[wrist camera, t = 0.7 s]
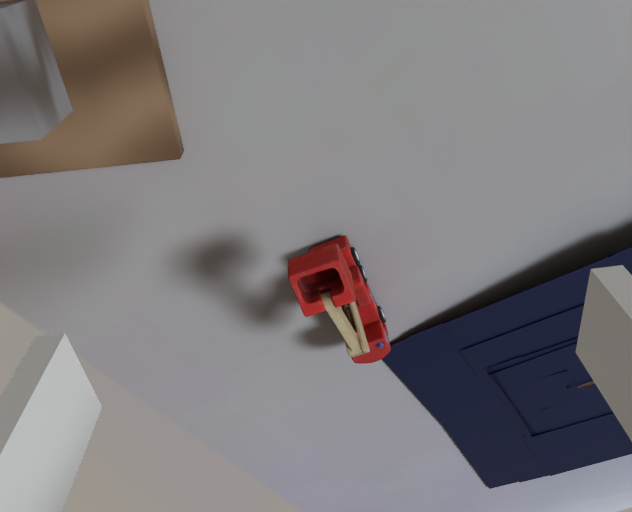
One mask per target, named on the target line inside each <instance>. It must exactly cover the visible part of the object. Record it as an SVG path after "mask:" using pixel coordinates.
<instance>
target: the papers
mask: <svg viewBox="0 0 632 512" xmlns="http://www.w3.org/2000/svg"><path fill="white" fill-rule="evenodd" d="M619 265H623V266H624V267H625V268H626V269H627V271H628V272H629V273H630V274H631V275H632V247H631V248H628V249H626V250H623V251H620V252H618V253H615V254H612V255H610V256H608V258H605V259H603V260H600V261H598V262H596V263H593V264H591V265H588V266H586V267H583V268H581V269H578V270H576V271H573V272H571V273H568V274H566V275H563V276H561V277H558V278H556V279H553V280H551V281H548V282H546V283H544V284H541V285H539V286H536V287H534V288H531V289H529V290H526V291H524V292H521V293H519V294H516V295H514V296H511V297H509V298H506V299H504V300H501V301H499V302H496V303H494V304H492V305H489V306H487V307H484V308H482V309H479V310H477V311H474V312H472V313H469V314H467V315H464V316H462V317H459V318H457V319H454V320H452V321H447V322H445V323H442V324H440V325H437V326H434V327H432V328H429V329H427V330H424V331H422V332H419V333H417V334H414V335H412V336H409V337H408V338H407V339H405V340H402V341H400V342H398V343H396V344H393V345H391V346H390V347H391V350H390V352H389V353H388V354H387V355H386V356H385V357H384V358H382V359H383V360H384V361H385V362H386V363H387V364H388V366H389V367H390V368H391V369H392V370H393V371H394V372H395V373H396V374H397V375H398V376H399V378H400V379H401V380H402V381H403V382H404V383H405V384H406V385H407V386H408V387H409V389H410V390H411V391H412V392H413V393H414V394H415V395H416V396H417V397H418V398H419V400H420V401H421V402H422V403H423V404H424V405H425V406H426V407H427V408H428V409H429V410H430V412H431V413H432V414H433V415H434V416H435V417H436V418H437V419H438V420H439V421H440V423H441V424H442V425H443V426H444V427H445V429H446V430H447V431H448V433H449V434H450V435H451V437H452V438H453V439H454V441H455V442H456V444H457V445H458V446H459V448H460V449H461V450H462V452H463V453H464V455H465V456H466V457H467V459H468V460H469V461H470V463H471V464H472V465H473V467H474V468H475V470H476V471H477V472H478V474H479V475H480V476H481V478H482V479H483V481H484V482H485V483H486V485H487V486H488V487H489V489H490V488H494V487H498V486H502V485H507V484H511V483H515V482H523V481H527V480H531V479H536V478H540V477H544V476H548V475H550V476H552V475H555V474H559V473H563V472H566V471H570V470H574V469H577V468H581V467H585V466H588V465H592V464H596V463H600V462H603V461H607V460H611V459H614V458H618V457H622V456H625V455H629V454H632V441H631V440H630V438H629V437H628V435H627V433H626V432H625V430H624V429H623V427H622V425H621V424H620V422H619V421H618V419H617V418H616V416H615V414H614V413H613V411H612V410H611V408H610V406H609V405H608V403H607V402H606V400H605V398H604V397H603V395H602V394H601V392H600V390H599V389H598V387H597V386H596V384H595V383H594V381H593V379H592V378H591V376H590V375H589V373H588V371H587V370H586V368H585V367H584V365H583V363H582V362H581V360H580V359H579V357H578V355H577V354H576V347H577V341H578V336H579V330H580V325H581V319H582V314H583V308H584V303H585V297H586V292H587V286H588V281H589V275H590V270H591V269H594V268H603V267H611V266H619Z"/></svg>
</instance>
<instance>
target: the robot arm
mask: <svg viewBox="0 0 632 512" xmlns="http://www.w3.org/2000/svg"><path fill="white" fill-rule="evenodd" d="M576 354H577V355H578V357H579V359H580V360H581V362H582V363H583V365H584V367H585V368H586V370H587V371H588V373H589V375H590V376H591V378H592V379H593V381H594V383H595V384H596V386H597V387H598V389H599V390H600V392H601V394H602V395H603V397H604V398H605V400H606V402H607V403H608V405H609V406H610V408H611V410H612V411H613V413H614V414H615V416H616V418H617V419H618V421H619V422H620V424H621V425H622V427H623V429H624V430H625V432H626V433H627V435H628V437H629V438H630V440H631V441H632V275H631V274H630V273H629V272H628V271H627V269H626V268H625V267H624V266H623V265H619V266H611V267H603V268H594V269H591V270H590V275H589V281H588V286H587V292H586V297H585V303H584V308H583V314H582V319H581V325H580V330H579V336H578V341H577V347H576ZM101 408H102V406H101V404H100V402H99V400H98V398H97V396H96V394H95V392H94V390H93V388H92V386H91V385H90V382H89V380H88V378H87V376H86V374H85V372H84V371H83V368H82V366H81V364H80V362H79V360H78V358H77V356H76V354H75V352H74V350H73V348H72V346H71V344H70V342H69V340H68V338H67V336H66V334H65V333H61V334H53V335H45V336H37V337H35V338H34V340H33V342H32V343H31V345H30V347H29V348H28V350H27V352H26V353H25V355H24V357H23V358H22V360H21V362H20V364H19V365H18V367H17V369H16V370H15V372H14V374H13V375H12V377H11V379H10V380H9V382H8V384H7V385H6V387H5V389H4V390H3V392H2V394H1V395H0V512H62V511H63V508H64V506H65V503H66V501H67V498H68V495H69V493H70V490H71V487H72V485H73V482H74V480H75V477H76V474H77V471H78V469H79V466H80V463H81V461H82V458H83V456H84V453H85V451H86V448H87V445H88V443H89V439H90V437H91V434H92V432H93V429H94V427H95V424H96V422H97V419H98V416H99V414H100V411H101Z"/></svg>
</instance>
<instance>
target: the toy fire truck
mask: <svg viewBox="0 0 632 512" xmlns="http://www.w3.org/2000/svg"><path fill="white" fill-rule="evenodd" d="M359 264H360V261H359V257H358V254H357V252H356V250H355V248H354V247H352V248H350V244H349V241H348V239H347V237H346V236H341V237H339V238H336V239H333V240H331V241H328V242H326V243H323V244H320V245H318V246H315V247H313V248H310V249H309V253H307V254H305V255H302V256H299V257H296V258H292V259H291V260H289V265H288V279H289V281H290V283H291V286H292V288H293V291H294V293H295V295H296V298H297V300H298V302H299V304H300V307H301V309H302V312H303V314H304V315H305V317H308V316H311V315H314V314H318V313H321V312H324V311H327V312H328V314H329V316H330V317H331V319H332V320H333V322H334V323H335V325H336V327H337V328H338V330H339V331H340V333H341V334H342V336H343V338H344V341H345V344H346V348H347V351H348V354H349V356H350V357H351V358H352V360H353V361H354V362H355V363H372V362H376V361H378V360H380V359H382V358H384V357H385V356H386V355H387V354H388V353H389V352H390V350H391V347H390V341H389V338H388V331H387V328H386V324H385V322H386V319H385V316H384V313H383V310H382V308H381V307H380V306H378V307H377V305H376V302H375V300H374V297H373V295H372V293H371V291H370V288H369V286H368V284H367V278H366V274H365V272H364V269H363V267H362V265H359ZM356 265H358V266H356Z"/></svg>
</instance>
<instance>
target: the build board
mask: <svg viewBox="0 0 632 512" xmlns="http://www.w3.org/2000/svg"><path fill="white" fill-rule="evenodd" d="M183 151H184V149H183V145H182V140H181V136H180V132H179V128H178V124H177V119H176V115H175V111H174V107H173V103H172V98H171V94H170V90H169V86H168V81H167V77H166V73H165V69H164V65H163V60H162V56H161V52H160V48H159V43H158V39H157V35H156V31H155V27H154V22H153V18H152V14H151V10H150V6H149V1H148V0H0V178H2V177H11V176H21V175H31V174H40V173H50V172H60V171H69V170H79V169H89V168H98V167H108V166H118V165H127V164H137V163H147V162H156V161H166V160H176V159H180V158H181V156H182V154H183Z"/></svg>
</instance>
